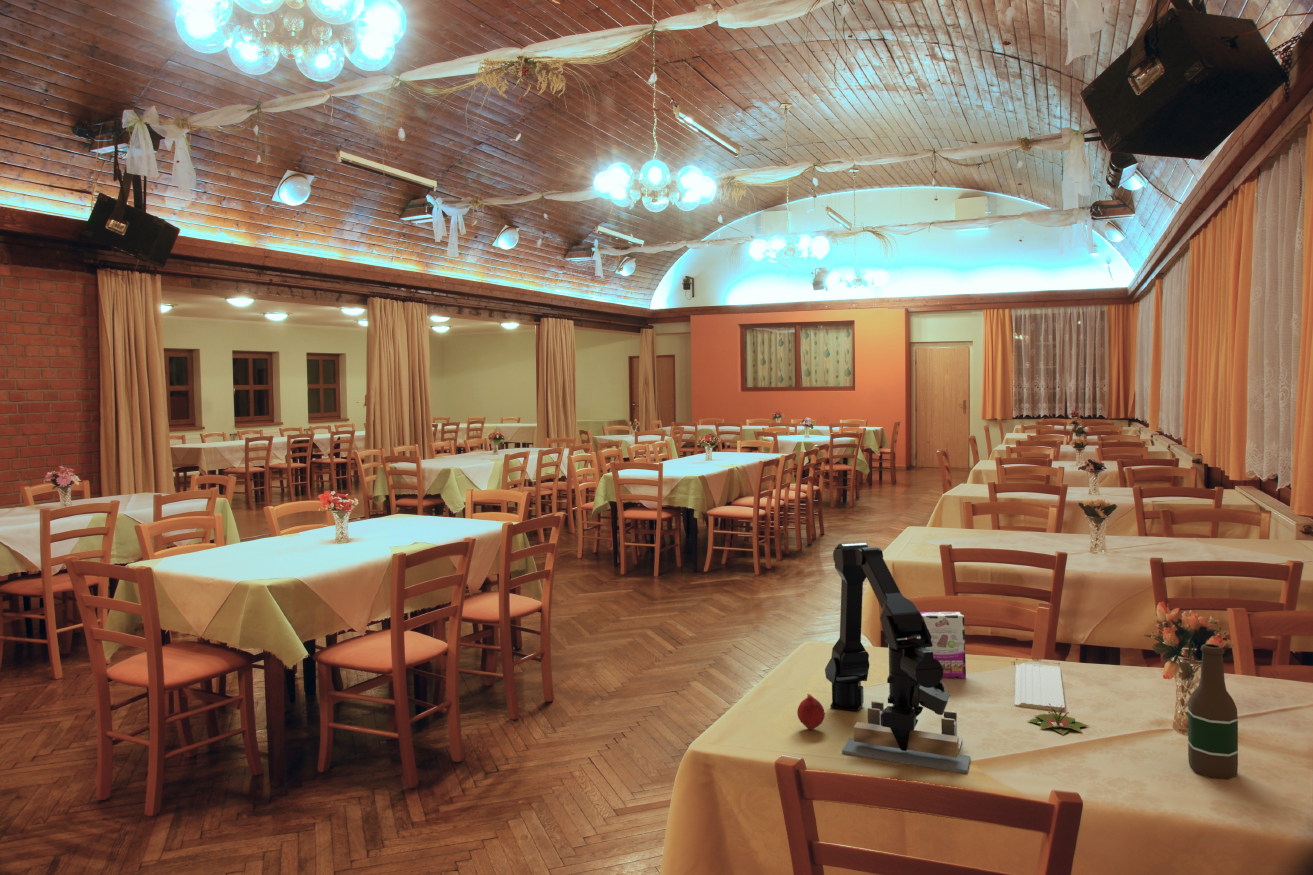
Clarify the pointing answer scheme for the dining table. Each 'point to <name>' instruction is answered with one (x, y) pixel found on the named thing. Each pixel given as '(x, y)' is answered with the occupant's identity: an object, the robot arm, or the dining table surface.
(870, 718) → the post left
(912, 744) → the rail
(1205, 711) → the beer bottle
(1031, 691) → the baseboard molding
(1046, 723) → the lily flower
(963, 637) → the candy bar box
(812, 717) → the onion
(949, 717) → the post right
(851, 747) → the mat
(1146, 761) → the dining table surface
